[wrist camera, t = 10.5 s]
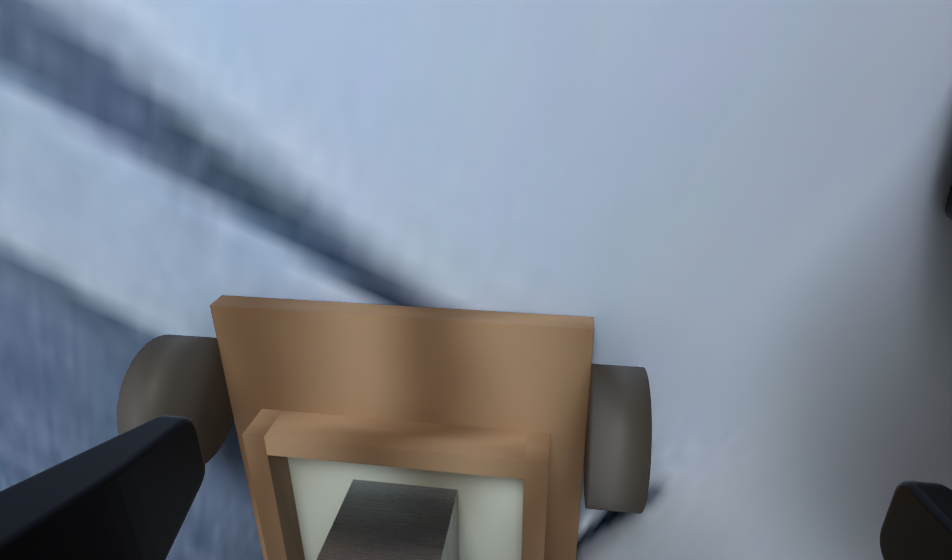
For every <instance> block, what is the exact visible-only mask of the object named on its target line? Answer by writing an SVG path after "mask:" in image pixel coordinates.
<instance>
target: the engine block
mask: <svg viewBox="0 0 952 560" xmlns="http://www.w3.org/2000/svg"><path fill="white" fill-rule="evenodd" d="M316 560H460V557H459V521H458V490H457V489H446V488H436V487H426V486H416V485H406V484H396V483H386V482H376V481H366V480H356V479H353V481H352V483H351V485H350V487H349V490H348V492H347V494H346V496H345V498H344V500H343V503H342V505H341V507H340V509H339V511H338V514H337V516H336V518H335V520H334V522H333V524H332V527H331V529H330V531H329V533H328V535H327V538H326V540H325V542H324V544H323V546H322V548H321V551H320V553H319V555H318V557H317V559H316Z"/></svg>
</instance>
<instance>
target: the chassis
mask: <svg viewBox="0 0 952 560" xmlns="http://www.w3.org/2000/svg"><path fill="white" fill-rule="evenodd" d="M210 308H211V313H212V317H213V322H214V327H215V331H216V336H217V338H210V337H195V336H181V335H162V336H159V337H157V338H155V339H153V340H151V341H150V342H148V343H147V344H146V345H145V346H144V347H143V348H142V349H141V350H140V351H139V352H138V354H137V355H136V356H135V358H134V359H133V361H132V362H131V364H130V366H129V368H128V370H127V372H126V375H125V377H124V380H123V383H122V386H121V389H120V393H119V399H118V405H117V426H118V433H119V435H121V434H123V433H125V432H127V431H129V430H131V429H133V428H135V427H137V426H140V425H142V424H144V423H146V422H148V421H150V420H152V419H154V418H156V417H159V416H164V415H168V416H179V417H187V418H190V419H191V420H192V421H193V422H194V423H195V426H196V429H197V433H198V437H199V441H200V445H201V450H202V454H203V458H204V462H205V463H207V462H208V461H209V460H210V459H211V458H212V457H213V456H214V455H215V454H216V453H217V451H218V450H219V449H220V447H221V446H222V444H223V442H224V440H225V438H226V436H227V434H228V432H229V429H230V427H231V424H232V421H233V418H234V421H235V426H236V431H237V435H238V440H239V445H240V450H241V454H242V459H243V464H244V469H245V473H246V478H247V483H248V487H249V492H250V497H251V502H252V506H253V511H254V516H255V521H256V525H257V530H258V535H259V539H260V544H261V549H262V554H263V558H264V560H316V559H317V557H318V555H319V553H320V551H321V548H322V546H323V544H324V542H325V540H326V538H327V535H328V533H329V531H330V529H331V527H332V524H333V522H334V520H335V518H336V516H337V514H338V511H339V509H340V507H341V505H342V503H343V500H344V498H345V496H346V494H347V492H348V490H349V487H350V485H351V483H352V481H353V479H356V480H366V481H376V482H386V483H396V484H406V485H416V486H426V487H436V488H446V489H457V490H458V521H459V557H460V560H576V550H577V538H578V525H579V513H580V500H581V488H582V475H583V463H584V496H585V507H586V508H589V509H599V510H609V511H619V512H629V513H639V514H641V513H642V512H643V510H644V507H645V504H646V499H647V493H648V487H649V478H650V465H651V443H652V417H651V397H650V387H649V380H648V376H647V372H646V370H645V368H644V367H630V366H615V365H601V364H591V363H592V350H593V337H594V317H580V316H563V315H546V314H529V313H512V312H495V311H478V310H461V309H444V308H427V307H410V306H393V305H376V304H359V303H342V302H325V301H309V300H292V299H275V298H258V297H241V296H224V295H222V296H221V297H219V298H218V299H217V300H216V301H215V302H214V303H212V304H211V305H210ZM584 450H585V455H584Z"/></svg>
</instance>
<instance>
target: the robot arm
mask: <svg viewBox="0 0 952 560" xmlns="http://www.w3.org/2000/svg"><path fill="white" fill-rule="evenodd" d="M945 212H946V214H947V216H948V217H949V218H950V219H951V220H952V187H951V190H950V193H949V196H948V199H947V202H946V208H945ZM204 474H205V462H204V458H203V454H202V450H201V445H200V441H199V437H198V433H197V429H196V426H195V423H194V422H193V421H192V420H191V419H190V418H187V417H179V416H168V415H164V416H159V417H156V418H154V419H152V420H150V421H148V422H146V423H144V424H142V425H140V426H137V427H135V428H133V429H131V430H129V431H127V432H125V433H123V434H121V435H118V436H116V437H114V438H112V439H110V440H108V441H106V442H104V443H102V444H99V445H97V446H95V447H93V448H91V449H89V450H87V451H85V452H83V453H81V454H78V455H76V456H74V457H72V458H70V459H68V460H66V461H64V462H62V463H59V464H57V465H55V466H53V467H51V468H49V469H47V470H45V471H43V472H41V473H38V474H36V475H34V476H32V477H30V478H28V479H26V480H24V481H22V482H19V483H17V484H15V485H13V486H11V487H9V488H7V489H5V490H3V491H1V492H0V560H165V559H166V557H167V555H168V553H169V551H170V549H171V547H172V545H173V543H174V540H175V538H176V536H177V534H178V532H179V530H180V528H181V526H182V524H183V522H184V520H185V517H186V515H187V513H188V511H189V509H190V507H191V505H192V503H193V501H194V499H195V496H196V494H197V492H198V490H199V488H200V486H201V484H202V481H203V478H204ZM880 546H881V551H882V555H883V558H884V560H952V490H950V489H949V488H947V487H945V486H944V485H941V484H937V483H928V482H917V481H905V482H902V483H900V484H899V485H898V486H897V488H896V490H895V492H894V495H893V498H892V500H891V503H890V506H889V509H888V512H887V514H886V517H885V520H884V523H883V526H882V528H881V533H880Z"/></svg>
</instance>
